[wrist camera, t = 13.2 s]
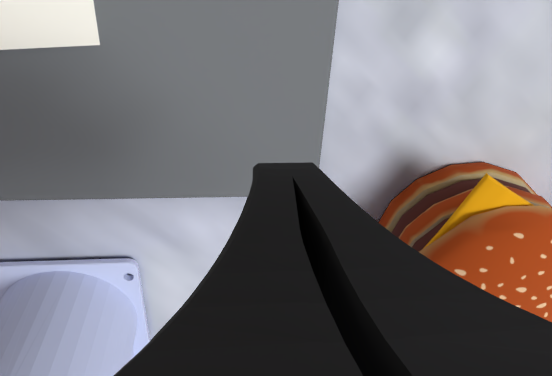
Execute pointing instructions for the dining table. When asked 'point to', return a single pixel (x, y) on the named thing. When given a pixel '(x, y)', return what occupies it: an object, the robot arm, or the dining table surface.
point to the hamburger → (481, 231)
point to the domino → (47, 24)
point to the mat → (167, 100)
